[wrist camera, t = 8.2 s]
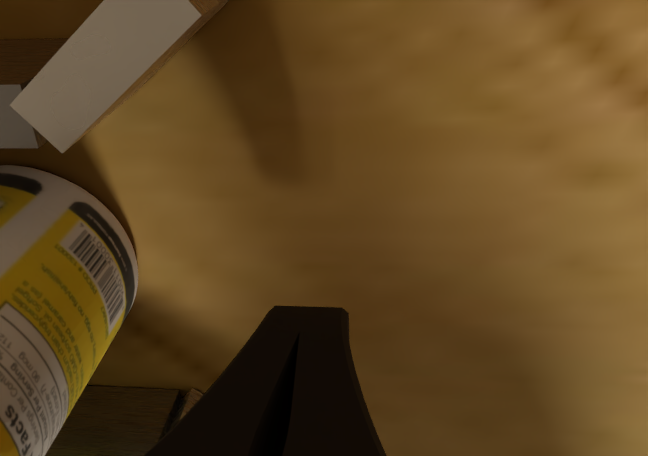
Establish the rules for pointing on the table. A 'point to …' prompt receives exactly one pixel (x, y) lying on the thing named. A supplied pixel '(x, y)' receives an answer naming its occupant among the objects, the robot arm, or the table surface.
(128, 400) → the steel bracket
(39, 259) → the supplement bottle
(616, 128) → the table surface
